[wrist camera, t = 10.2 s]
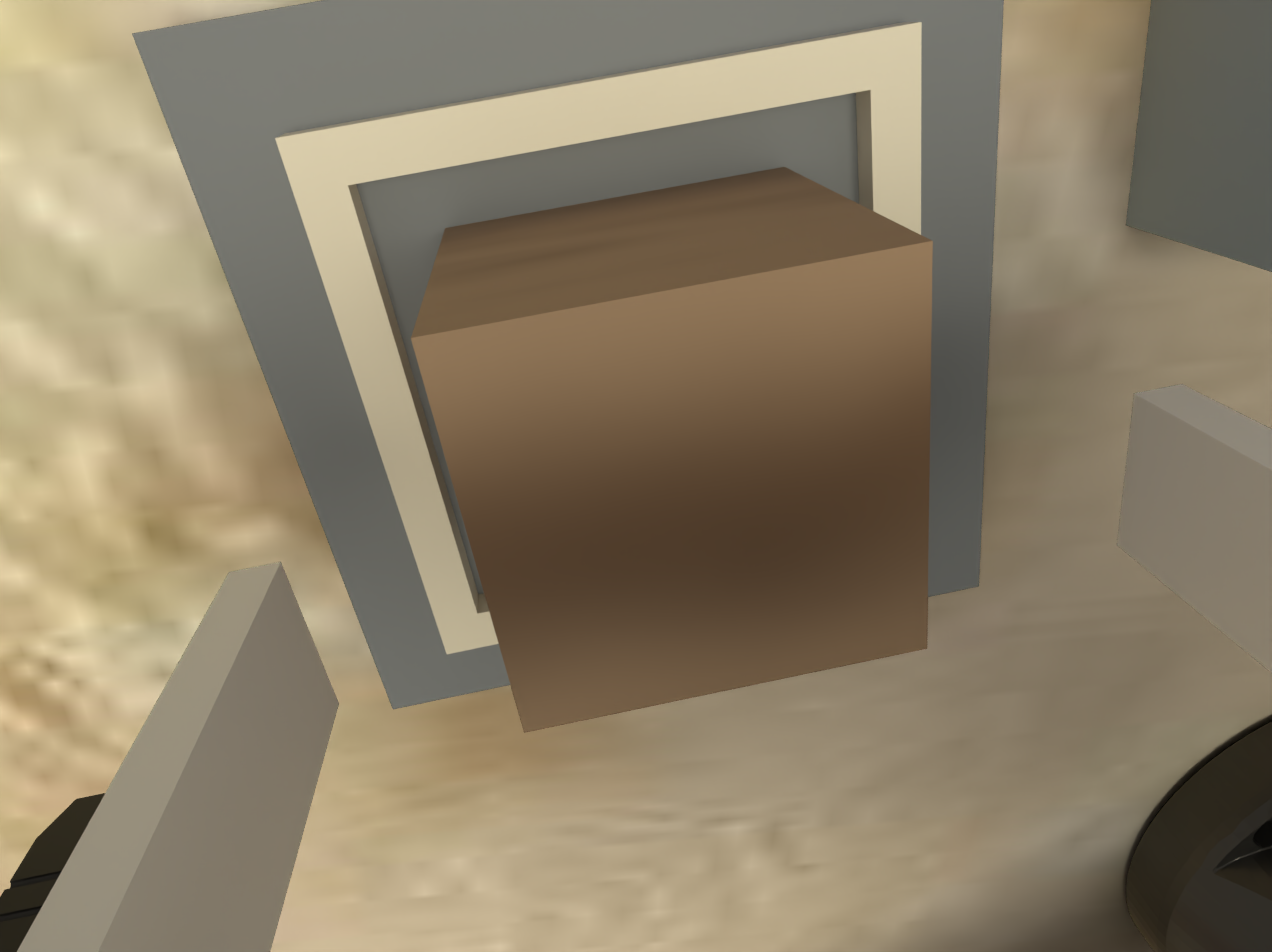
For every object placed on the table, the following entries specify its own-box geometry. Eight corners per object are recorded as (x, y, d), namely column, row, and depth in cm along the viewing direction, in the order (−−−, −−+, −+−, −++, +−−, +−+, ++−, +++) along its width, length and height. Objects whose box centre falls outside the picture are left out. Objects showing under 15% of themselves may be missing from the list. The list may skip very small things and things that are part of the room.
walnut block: (803, 466, 21) (927, 648, 15) (519, 522, 21) (524, 732, 14) (784, 166, 18) (932, 241, 12) (445, 228, 17) (411, 337, 11)
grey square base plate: (945, 547, 25) (993, 603, 23) (401, 660, 24) (389, 730, 22) (958, -105, 18) (1031, -126, 15) (171, 33, 17) (113, 34, 14)
